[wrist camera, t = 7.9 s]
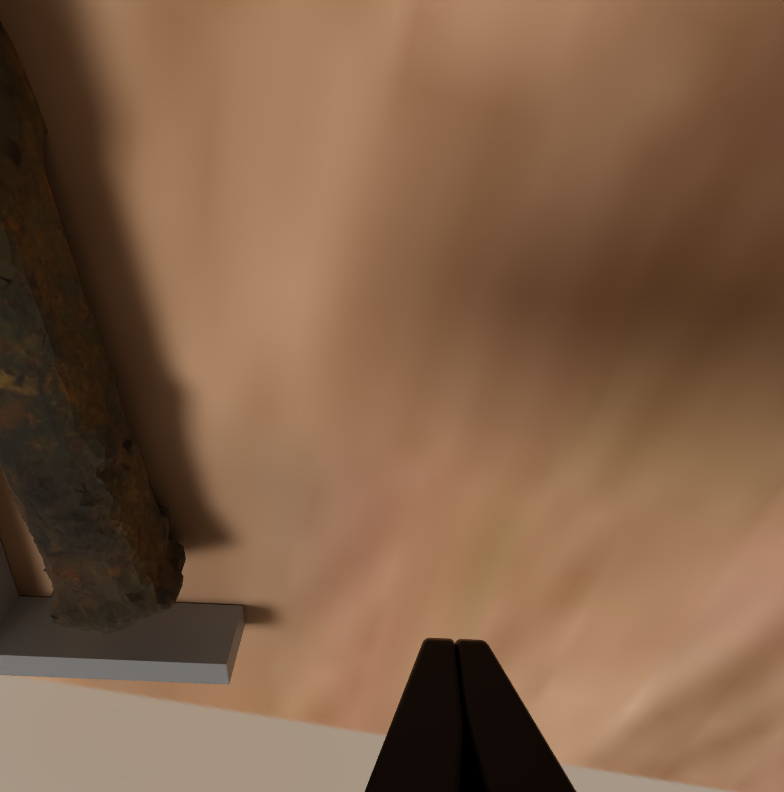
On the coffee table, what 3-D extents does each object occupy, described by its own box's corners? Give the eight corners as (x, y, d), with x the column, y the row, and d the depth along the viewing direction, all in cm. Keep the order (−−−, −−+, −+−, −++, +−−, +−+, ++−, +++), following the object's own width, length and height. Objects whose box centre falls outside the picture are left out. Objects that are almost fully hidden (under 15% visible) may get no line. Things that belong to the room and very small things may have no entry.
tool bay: (151, -268, 13) (98, -324, 10) (244, 624, 25) (229, 684, 22) (-329, -288, 13) (-481, -349, 10) (-2, 614, 25) (-42, 673, 22)
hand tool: (203, 547, 23) (160, 660, 19) (88, 549, 23) (22, 662, 19) (41, -154, 14) (-107, -221, 10) (-149, -144, 14) (-374, -208, 10)
